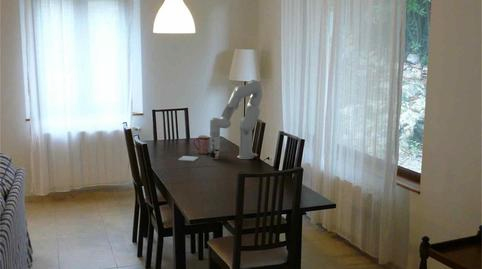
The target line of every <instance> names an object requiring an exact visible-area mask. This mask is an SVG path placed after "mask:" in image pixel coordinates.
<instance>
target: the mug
mask: <svg viewBox="0 0 482 269" xmlns="http://www.w3.org/2000/svg"><path fill="white" fill-rule="evenodd" d="M196 140H197V142H198V147H197V145H196V143H195V142H196ZM192 141H193V145H194V147H195V148H196V149H197V150H198V153H199V154H201V155H207V154H208V153H209V145H210V135H198V138H194V139H193V140H192Z"/></svg>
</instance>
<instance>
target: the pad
mask: <svg viewBox="0 0 482 269" xmlns="http://www.w3.org/2000/svg"><path fill="white" fill-rule="evenodd" d="M198 159H199V156H190V155H182V156H181V157H180V158H178V159H177V161H183V162H196V160H198Z"/></svg>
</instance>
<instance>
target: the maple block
mask: <svg viewBox="0 0 482 269" xmlns="http://www.w3.org/2000/svg"><path fill="white" fill-rule="evenodd" d="M219 154H220V152H219V150H218V151H215V158H211V157H210V159H211V160H212V159H213V160H218V159H220V156H219Z"/></svg>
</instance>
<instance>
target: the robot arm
mask: <svg viewBox="0 0 482 269" xmlns="http://www.w3.org/2000/svg"><path fill="white" fill-rule="evenodd" d="M249 96H250V97H249ZM247 97H249V100H248V102H247V105H246V107H245V110H244V111H245V113H246V114H245V116H243V117H241V118H240V120H239V124H238V125H239V149H238V150H239V154H238V155H237V157H236V158H237V159H240V160H252V159H254V158H255V157H258V154H257V153H255V152H253V131H254V128H255V126H256V124H257V122H258V119H259V117H260V113H261V111H260V108H259V107H260V104H261V101H262V98H263V91H262V85H261V83H260V82H259V81H258V80H256V79H251V80H249V81H248V82H247V84H245V85H238V86H235V88H234V89H233V91H232V94H231V95H230V98H229V100H228V102H227V104H226V106H225V108H224V109H223V111H222V113H221V115H220V118H219V117H211V118H210V120H209V137H210V143H209V145H210V159H211V158H215V151H219V149H220V148H221V147H220V146H221V145H220V144H221V142H220V137H221V129H228V128H230V127H231V118H232V116H233V114H234V113H235V112H236V111H237V110H238V109H239V107H240V105H241V103H242V100H243V99H244V98H247Z"/></svg>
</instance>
